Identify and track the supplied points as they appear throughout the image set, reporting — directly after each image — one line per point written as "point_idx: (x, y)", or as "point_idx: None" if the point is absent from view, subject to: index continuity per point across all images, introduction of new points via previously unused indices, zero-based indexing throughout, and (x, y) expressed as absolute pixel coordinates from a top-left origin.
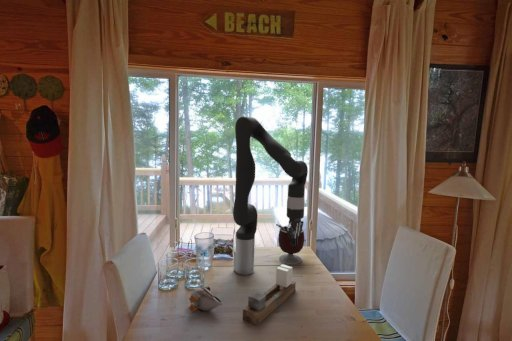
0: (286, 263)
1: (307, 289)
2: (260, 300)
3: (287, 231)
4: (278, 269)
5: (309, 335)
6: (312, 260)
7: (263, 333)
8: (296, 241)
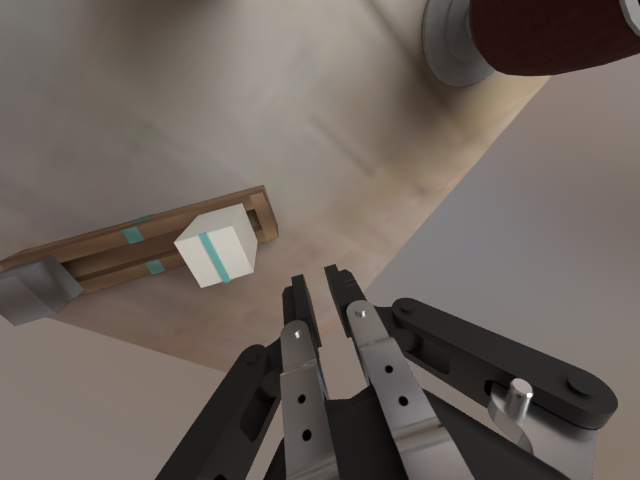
0: (423, 43)
1: (313, 240)
2: (21, 323)
3: (182, 462)
4: (180, 250)
5: (174, 354)
6: (508, 108)
7: (67, 315)
8: (335, 305)
